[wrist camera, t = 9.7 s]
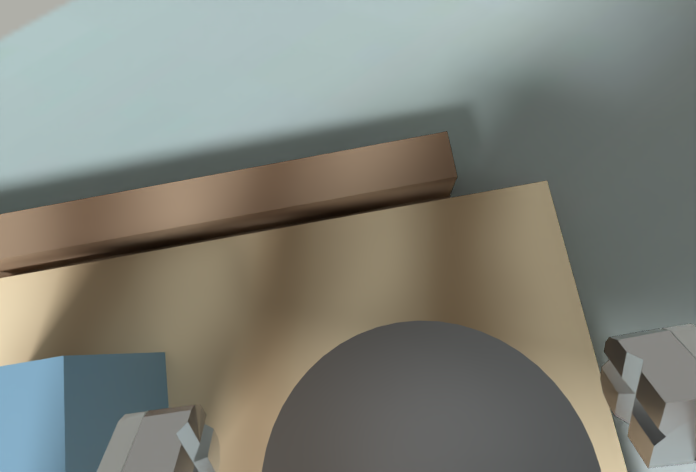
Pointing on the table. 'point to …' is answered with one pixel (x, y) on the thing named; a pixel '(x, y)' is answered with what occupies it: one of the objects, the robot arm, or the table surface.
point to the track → (228, 204)
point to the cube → (73, 407)
